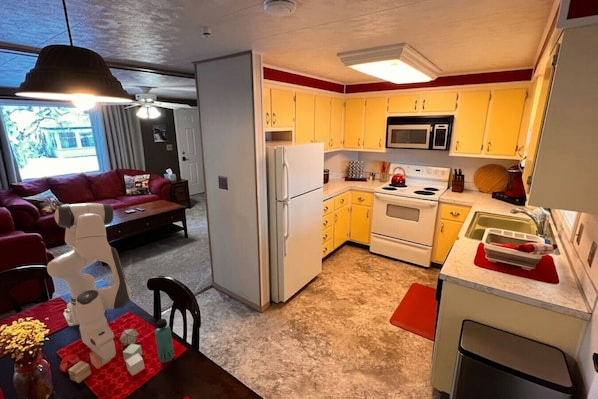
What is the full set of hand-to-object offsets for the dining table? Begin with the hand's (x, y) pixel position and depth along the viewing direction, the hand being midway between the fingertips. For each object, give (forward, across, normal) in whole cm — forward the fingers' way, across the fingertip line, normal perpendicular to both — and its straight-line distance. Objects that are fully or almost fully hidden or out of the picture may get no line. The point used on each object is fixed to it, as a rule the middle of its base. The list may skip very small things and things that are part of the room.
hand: (100, 358), depth 120 cm
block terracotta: (+2, 0, 0) cm, 2 cm away
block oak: (+8, -7, -6) cm, 12 cm away
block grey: (+8, +9, +9) cm, 15 cm away
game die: (+9, -8, +15) cm, 19 cm away
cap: (+9, -16, -6) cm, 19 cm away
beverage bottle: (+8, +16, +19) cm, 26 cm away
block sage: (+8, +2, +12) cm, 14 cm away
